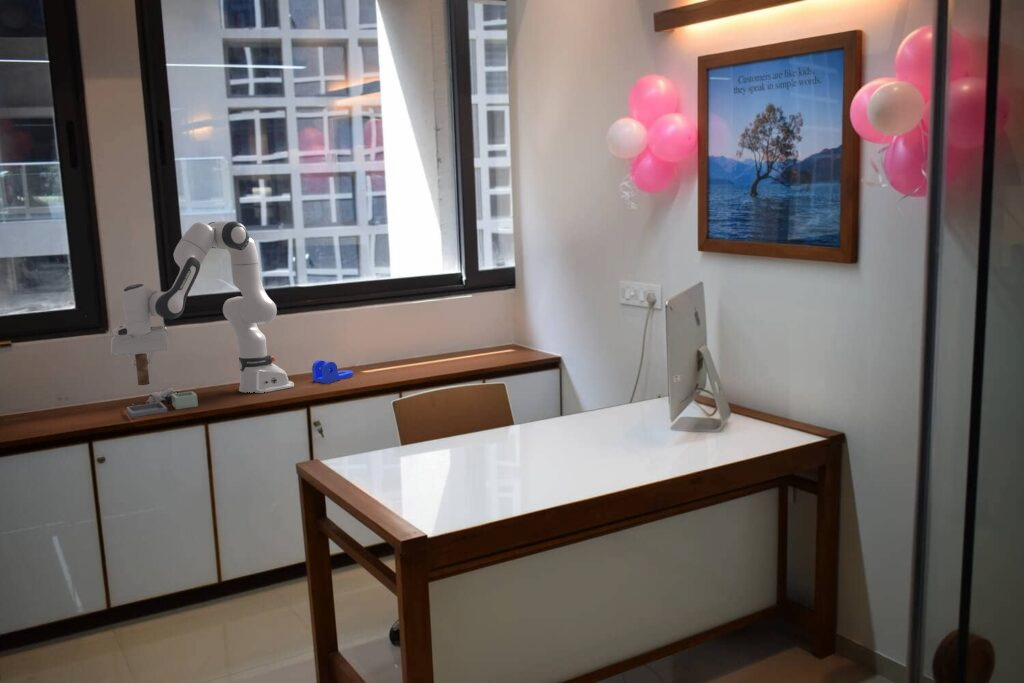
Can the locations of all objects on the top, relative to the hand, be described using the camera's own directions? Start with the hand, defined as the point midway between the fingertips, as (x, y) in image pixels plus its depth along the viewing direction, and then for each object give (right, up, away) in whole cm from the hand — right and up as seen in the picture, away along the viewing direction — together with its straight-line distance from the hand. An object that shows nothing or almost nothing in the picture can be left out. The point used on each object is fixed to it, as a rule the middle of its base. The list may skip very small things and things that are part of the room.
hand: (141, 364), depth 349 cm
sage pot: (+13, -17, +10) cm, 24 cm away
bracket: (+62, -8, +55) cm, 84 cm away
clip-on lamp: (0, -17, +16) cm, 24 cm away
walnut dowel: (0, -8, +1) cm, 8 cm away
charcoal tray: (+1, -19, +3) cm, 19 cm away
